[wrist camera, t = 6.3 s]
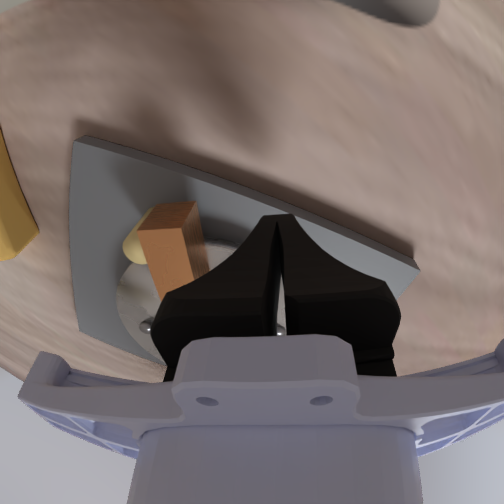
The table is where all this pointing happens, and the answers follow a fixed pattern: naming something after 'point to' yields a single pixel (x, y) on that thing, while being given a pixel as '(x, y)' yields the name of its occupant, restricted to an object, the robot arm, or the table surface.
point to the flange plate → (149, 300)
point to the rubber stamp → (13, 211)
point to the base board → (211, 218)
